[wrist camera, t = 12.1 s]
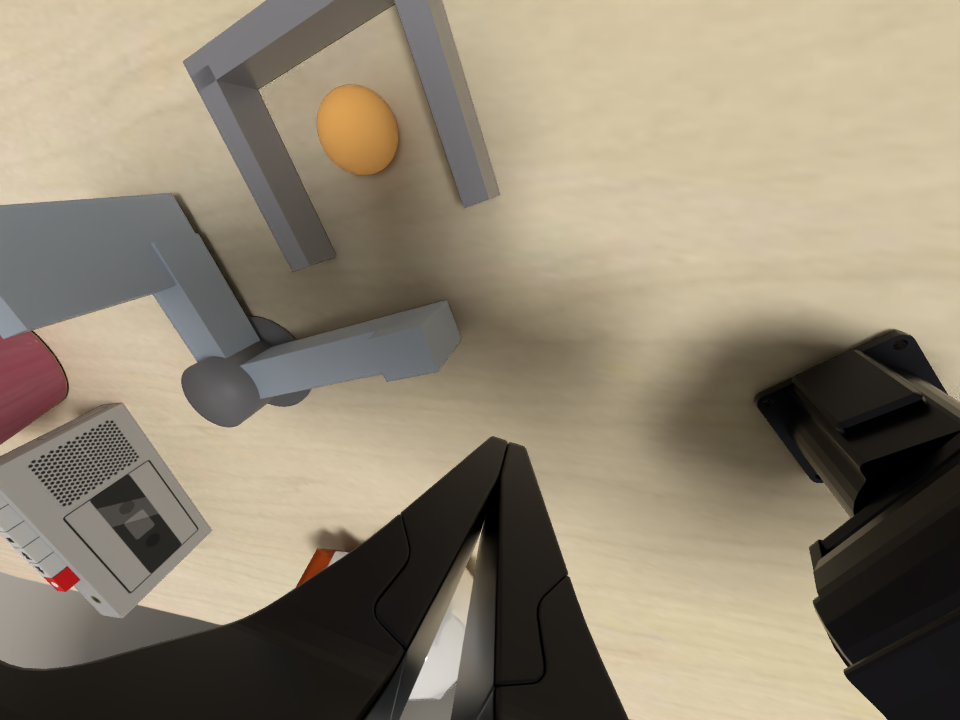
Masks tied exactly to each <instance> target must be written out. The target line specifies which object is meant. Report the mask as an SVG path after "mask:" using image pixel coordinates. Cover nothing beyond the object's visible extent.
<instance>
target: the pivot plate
mask: <svg viewBox="0 0 960 720" xmlns="http://www.w3.org/2000/svg"><path fill="white" fill-rule="evenodd" d="M247 318H248V320H249V322H250V324H251V325H252V327H253V329H254V330H255V332H256V334H257V336H258V337H259V339H260V340H261V341H263V342H265V343H267V344H269V345H270V346H272V347H273V346H277V345H280V344H284V343H288V342H292V341H295V340H296V339H295V338H294V337H293V336H292V335H291V334H290V333H289V332H288V331H287V330H285V329H284V328H283V327H281V326H280V325H278V324H276V323H275V322H273V321H270V320H268V319H265V318H261V317H255V316H248V317H247ZM310 390H311V389H306V390H302V391H297V392H292V393H287V394H282V395H278V396H277V397H275V398H274V399H273V400H271V401H270V402H269V403H268V404H271V405H274V406H282V407H285V406H292V405H295V404H297V403H299V402H300V401H302V400H303V399H304V398H305V397H306V396H307V395H308V393H309V392H310Z"/></svg>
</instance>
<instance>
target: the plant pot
mask: <svg viewBox="0 0 960 720" xmlns="http://www.w3.org/2000/svg"><path fill="white" fill-rule="evenodd" d="M66 394H67V382H66V378H65V376H64V373H63V371H62V369H61V367H60V365H59V363H58V362H57V360H56V358H55V357H54V356H53V354H52V353H51V352H50V350H49V349H48V348H47V347H46V346H45V345H44V343H43V342H42V341H41V340H40V339H39V338H38V337H37V336H36V335H35V334H33V333H32V332H31V331H29V332H25V333H22V334H19V335H15V336H12V337H9V338H5V339H3V338H2V337H1V335H0V445H1V444H2V443H3V442H5V441H6V440H8V439H9V438H11V437H12V436H14V435H15V434H16V433H18V432H19V431H21V430H22V429H23V428H25V427H26V426H28V425H29V424H30V423H32V422H33V421H35V420H36V419H37V418H39V417H40V416H41V415H43V414H44V413H46V412H47V411H48V410H50V409H51V408H52V407H54V406H55V405H57V404H58V403H60V402H61V401H62V400H63V399H64V398H65V397H66Z"/></svg>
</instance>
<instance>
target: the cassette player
mask: <svg viewBox="0 0 960 720" xmlns="http://www.w3.org/2000/svg"><path fill="white" fill-rule="evenodd" d="M211 531H212V529H211V528H210V526H209V525H208V524H207V522H206V521H205V519H204V518H203V516H202V515H201V514H200V512H199V511H198V509H197V508H196V506H195V505H194V504H193V502H192V501H191V499H190V498H189V496H188V495H187V494H186V492H185V491H184V489H183V488H182V486H181V485H180V484H179V482H178V481H177V479H176V478H175V476H174V475H173V474H172V472H171V471H170V469H169V468H168V467H167V465H166V464H165V462H164V461H163V459H162V458H161V457H160V455H159V454H158V452H157V451H156V449H155V448H154V447H153V445H152V444H151V442H150V441H149V439H148V438H147V437H146V435H145V434H144V432H143V431H142V429H141V428H140V427H139V425H138V424H137V422H136V421H135V419H134V418H133V417H132V415H131V414H130V412H129V411H128V409H127V408H126V407H125V405H124V404H123V403H116V404H107V405H102V406H100V407H98V408H96V409H94V410H92V411H90V412H88V413H86V414H84V415H82V416H80V417H78V418H76V419H74V420H72V421H70V422H68V423H66V424H64V425H62V426H60V427H58V428H56V429H54V430H52V431H50V432H48V433H46V434H44V435H42V436H40V437H38V438H36V439H34V440H32V441H30V442H28V443H26V444H24V445H22V446H20V447H18V448H16V449H14V450H12V451H10V452H8V453H6V454H4V455H2V456H0V534H1V535H2V536H3V537H4V538H5V539H6V540H7V541H8V542H9V543H10V544H11V545H12V546H13V547H14V548H15V549H16V550H17V551H18V552H19V553H20V554H21V555H22V556H23V557H24V558H25V559H26V560H27V561H28V562H29V563H30V564H31V565H32V566H33V567H34V568H35V569H36V570H37V571H38V572H39V573H40V574H41V575H42V576H43V577H44V578H45V579H46V580H47V581H48V582H49V583H50V584H51V585H52V586H53V587H54V588H55V589H56V590H57V591H63V592H66V591H67V590H69V589H70V588H71V587H73V586H74V587H75V588H76V589H77V590H78V591H79V592H80V593H81V594H82V595H83V596H84V597H85V598H86V599H87V600H88V601H89V602H90V603H91V604H92V605H93V606H94V607H95V608H96V609H97V610H98V611H99V612H100V613H101V614H102V615H105V616H111V617H118V618H124V616H125V615H127V614H128V613H129V612H130V611H131V610H132V609H133V608H134V607H135V606H136V605H137V604H138V603H139V602H140V601H141V600H142V599H143V598H144V597H145V596H146V595H147V594H148V593H149V592H150V591H151V590H152V589H153V588H154V587H155V586H156V585H157V584H158V583H159V582H160V581H161V580H162V579H163V578H164V577H165V576H166V575H167V574H168V573H169V572H170V571H171V570H172V569H173V568H174V567H175V566H176V565H178V564H179V563H180V562H181V561H182V560H183V559H184V558H185V557H186V556H187V555H188V554H189V553H190V552H191V551H192V550H193V549H194V548H195V547H196V546H197V545H198V544H199V543H200V542H201V541H202V540H203V539H204V538H205V537H206V536H207V535H208V534H209V533H210V532H211Z"/></svg>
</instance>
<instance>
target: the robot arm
mask: <svg viewBox="0 0 960 720" xmlns="http://www.w3.org/2000/svg"><path fill="white" fill-rule="evenodd" d="M898 340H902V341H901V342H900V344H898V345H897V346H893V345H894V343H895V342H896V341H898ZM767 399H771V400H770V402H768V403H763V401H765V400H767ZM754 402H755V404H756V406H757V407H758V408H759V410H760V411H761V413H762V414H763V415H764V417H765V418H766V419H767V421H768V422H769V423H770V425H771V426H772V427H773V429H774V430H775V432H776V433H777V434H778V436H779V437H780V438H781V440H782V441H783V442H784V444H785V445H786V446H787V448H788V449H789V451H790V452H791V453H792V455H793V456H794V457H795V459H796V460H797V461H798V463H799V464H800V465H801V467H802V468H803V470H804V471H805V472H806V474H807V475H808V476H809V478H810V479H811V480H812V481H813V482H816V483H823V482H824V483H825V484H826V486H827V487H828V488H829V490H830V491H831V492H832V494H833V495H834V496H835V498H836V499H837V500H838V502H839V503H840V504H841V506H842V507H843V508H844V510H845V511H846V512H847V514H848V515H849V516H850V519H849V520H848V521H847V522H845V523H844V524H843V525H842V526H840V527H839V528H838V529H836V530H835V531H834V532H833V533H831V534H830V535H829V536H828V537H826V538H825V539H824V540H817V541H816V542H815V543H814V544H812V545H811V546H810V547H809V550H810V555H811V560H812V565H813V570H814V572H813V573H814V578H815V583H816V589H817V593H818V595H819V596H818V597H816V598H815V599H814V600H813V604H814V608H815V611H816V613H817V615H818V617H819V619H820V620H821V622H822V624H823V626H824V628H825V630H826V632H827V634H828V636H829V638H830V640H831V642H832V644H833V646H834V648H835V650H836V651H837V652H838V654H839V655H840V657H841V658H842V660H843V661H844V663H845V664H846V665H847V667H848V668H846V669H844V674H845V676H846V677H847V679H848V680H849V681H850V682H851V683H852V684H853V685H854V686H855V687H856V688H857V689H858V690H859V691H860V692H861V693H862V694H863V695H864V696H865V697H866V698H867V699H868V700H869V701H870V702H871V703H872V704H873V705H874V706H875V707H876V708H877V709H878V710H879V711H880V712H881V713H882V714H883V715H884V716H885V717H886V719H887V720H960V402H958V401H957V400H955V399H954V398H952V397H950V396H949V395H948V394H947V392H946V391H945V389H944V387H943V386H942V384H941V382H940V381H939V379H938V377H937V376H936V374H935V372H934V371H933V369H932V367H931V366H930V364H929V362H928V360H927V359H926V357H925V355H924V354H923V352H922V350H921V349H920V347H919V345H918V344H917V342H916V340H915V339H914V338H913V337H912V336H911V335H909V334H907V333H905V332H902V331H894V332H891V333H888V334H886V335H884V336H882V337H879V338H877V339H875V340H873V341H871V342H869V343H866V344H864V345H862V346H860V347H858V348H855V349H853V350H850V351H848V352H845V353H843V354H841V355H839V356H837V357H834V358H832V359H830V360H828V361H826V362H824V363H821V364H819V365H817V366H815V367H813V368H811V369H808V370H806V371H804V372H802V373H800V374H798V375H796V376H795V377H792V378H790V379H788V380H786V381H784V382H782V383H779V384H777V385H775V386H773V387H771V388H769V389H766V390H764V391H762V392H760V393H758V394H757V395H756V396H755V398H754ZM484 520H485V521H484ZM483 523H484V524H483ZM482 526H483V528H482ZM481 529H482V532H481ZM480 532H481V537H480V542H479V548H478V554H477V560H476V566H475V573H474V579H473V585H472V591H471V597H470V603H469V610H468V616H467V622H466V628H465V634H464V640H463V647H462V653H461V659H460V665H459V671H458V677H457V684H456V690H455V696H454V702H453V709H452V714H451V720H629V719H628V717H627V715H626V712H625V710H624V708H623V706H622V703H621V701H620V699H619V697H618V695H617V692H616V690H615V688H614V686H613V684H612V681H611V679H610V677H609V675H608V673H607V670H606V668H605V666H604V664H603V662H602V659H601V657H600V655H599V652H598V650H597V648H596V645H595V643H594V641H593V638H592V636H591V634H590V631H589V629H588V627H587V624H586V622H585V619H584V616H583V614H582V611H581V608H580V606H579V603H578V600H577V597H576V595H575V592H574V589H573V586H572V583H571V580H570V577H569V576H567V575H568V571H567V568H566V565H565V562H564V559H563V556H562V553H561V550H560V547H559V545H558V542H557V539H556V536H555V533H554V530H553V527H552V524H551V521H550V518H549V515H548V512H547V509H546V506H545V503H544V500H543V497H542V494H541V491H540V488H539V485H538V482H537V479H536V476H535V473H534V471H533V468H532V465H531V462H530V459H529V456H528V453H527V450H526V448H525V447H524V446H521V445H518V444H515V443H512V442H510V443H508V442H507V441H506V440H503V439H500V438H497V437H494V436H492V437H490V438H489V439H488V440H486V441H485V442H484V443H483V444H482V445H480V446H479V447H478V448H477V449H476V450H474V451H473V452H472V453H471V454H470V455H469V456H467V457H466V458H465V459H464V460H463V461H461V462H460V463H459V464H458V465H457V466H456V467H454V468H453V469H452V470H451V471H450V472H448V473H447V474H446V475H445V476H444V477H442V478H441V479H440V480H439V481H438V482H437V483H435V484H434V485H433V486H432V487H431V488H429V489H428V490H427V491H426V492H425V493H424V494H422V495H421V496H420V497H419V498H418V499H416V500H415V501H414V502H413V503H412V504H411V505H409V506H408V507H407V508H406V509H405V510H403V511H402V512H401V514H400V515H397V516H396V517H395V518H394V519H392V520H391V521H390V522H389V523H388V524H387V525H385V526H384V527H383V528H382V529H380V530H379V531H378V532H377V533H375V534H374V535H373V536H371V537H370V538H369V539H368V540H366V541H365V542H364V543H362V544H361V545H359V546H358V547H356V548H355V549H354V550H352V551H351V552H349V553H348V554H346V555H345V556H343V557H342V558H341V559H339V560H337V561H336V562H334V563H333V564H331V565H330V566H328V567H327V568H325V569H324V570H322V571H321V572H319V573H318V574H316V575H315V576H313V577H312V578H310V579H308V580H307V581H305V582H304V583H302V584H301V585H299V586H298V587H296V588H295V589H293V590H292V591H290V592H289V593H287V594H286V595H284V596H283V597H281V598H279V599H278V600H276V601H275V602H273V603H272V604H270V605H268V606H267V607H265V608H263V609H261V610H259V611H257V612H256V613H253V614H251V615H249V616H247V617H245V618H242V619H240V620H237V621H235V622H232V623H229V624H226V625H222V626H219V627H215V628H211V629H208V630H204V631H200V632H197V633H193V634H189V635H186V636H182V637H179V638H175V639H171V640H168V641H164V642H160V643H157V644H153V645H150V646H146V647H142V648H139V649H135V650H132V651H128V652H125V653H121V654H117V655H114V656H110V657H106V658H103V659H99V660H95V661H92V662H87V663H83V664H78V665H73V666H69V667H59V668H49V669H33V668H22V667H18V666H14V665H10V664H8V663H6V662H4V661H1V660H0V720H400V717H401V715H402V713H403V710H404V708H405V706H406V703H407V701H408V699H409V697H410V694H411V692H412V690H413V687H414V685H415V683H416V681H417V678H418V676H419V674H420V671H421V669H422V667H423V664H424V662H425V660H426V658H427V655H428V653H429V651H430V648H431V646H432V644H433V641H434V639H435V637H436V635H437V632H438V630H439V628H440V625H441V623H442V621H443V618H444V616H445V614H446V612H447V609H448V607H449V605H450V602H451V600H452V598H453V595H454V593H455V591H456V589H457V586H458V584H459V582H460V579H461V577H462V575H463V572H464V570H465V568H466V566H467V563H468V561H469V559H470V556H471V554H472V552H473V549H474V547H475V545H476V543H477V540H478V538H479V535H480Z"/></svg>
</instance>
